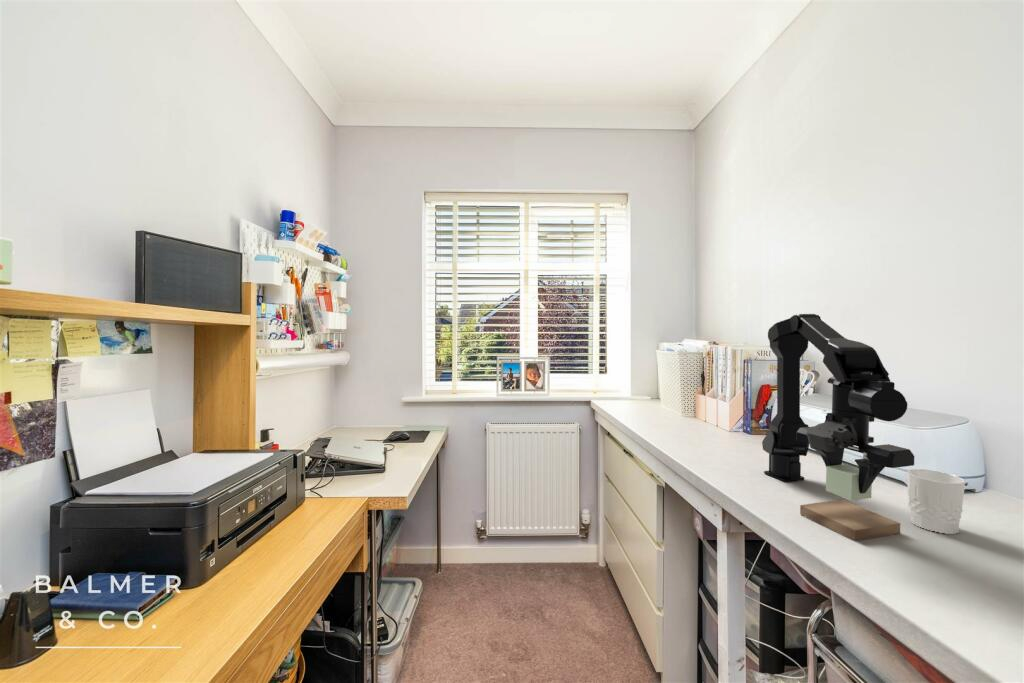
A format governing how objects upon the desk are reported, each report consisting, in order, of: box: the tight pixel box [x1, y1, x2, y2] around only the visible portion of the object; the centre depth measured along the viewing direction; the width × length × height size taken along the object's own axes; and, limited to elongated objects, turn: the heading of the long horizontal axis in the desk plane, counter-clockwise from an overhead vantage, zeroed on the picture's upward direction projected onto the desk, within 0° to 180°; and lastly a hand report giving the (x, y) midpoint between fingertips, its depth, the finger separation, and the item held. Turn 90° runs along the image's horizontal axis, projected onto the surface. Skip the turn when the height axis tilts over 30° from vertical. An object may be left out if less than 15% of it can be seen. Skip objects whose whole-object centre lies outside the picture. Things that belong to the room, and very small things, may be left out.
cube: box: [825, 463, 873, 502], centre depth 83 cm, size 5×5×5 cm
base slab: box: [799, 499, 901, 542], centre depth 83 cm, size 11×11×2 cm
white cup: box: [906, 468, 966, 535], centre depth 81 cm, size 8×8×10 cm
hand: (848, 487), depth 83 cm, fingers closed on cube, 5 cm apart
